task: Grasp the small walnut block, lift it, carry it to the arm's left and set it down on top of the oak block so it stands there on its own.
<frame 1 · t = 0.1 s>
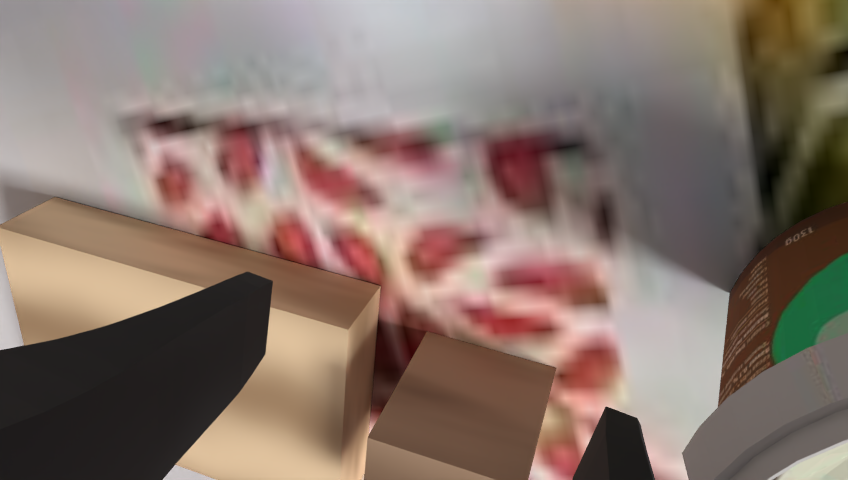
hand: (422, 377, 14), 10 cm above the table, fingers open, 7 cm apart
walnut block: (481, 398, 27), on the table
oak block: (214, 337, 30), on the table
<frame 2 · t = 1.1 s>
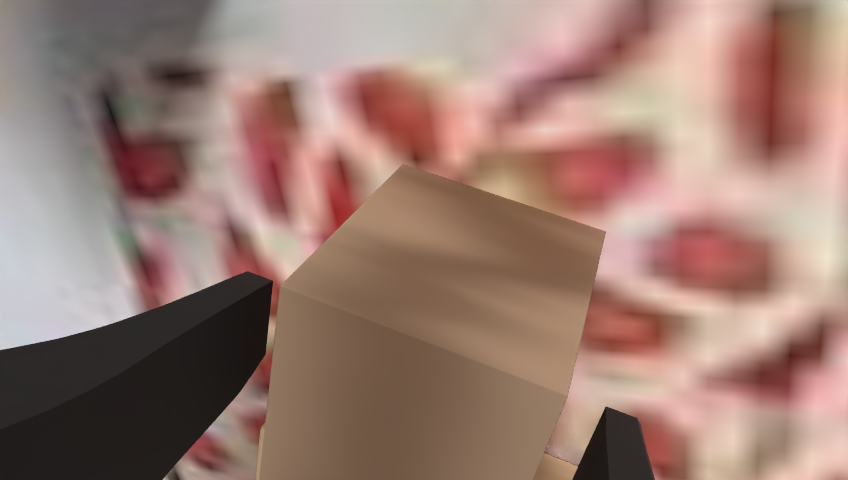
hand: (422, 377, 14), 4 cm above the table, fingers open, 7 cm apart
walnut block: (477, 282, 17), on the table
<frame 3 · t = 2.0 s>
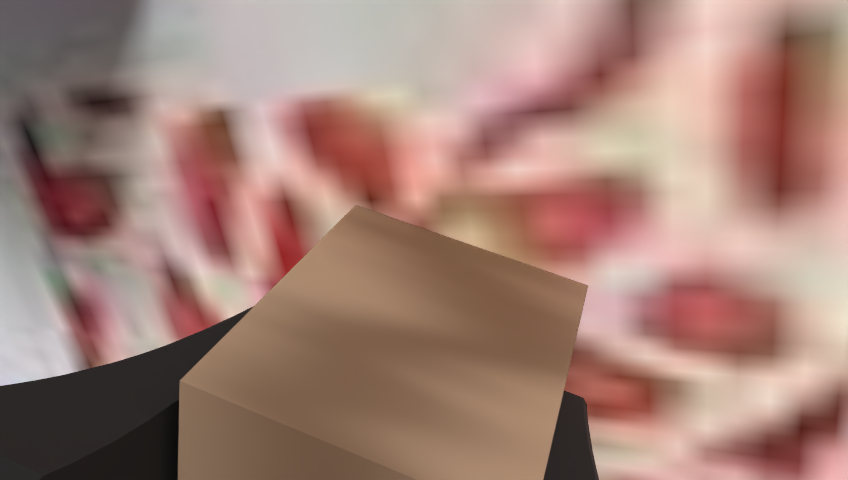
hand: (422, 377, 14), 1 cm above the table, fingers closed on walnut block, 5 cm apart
walnut block: (442, 338, 15), on the table, touching gripper
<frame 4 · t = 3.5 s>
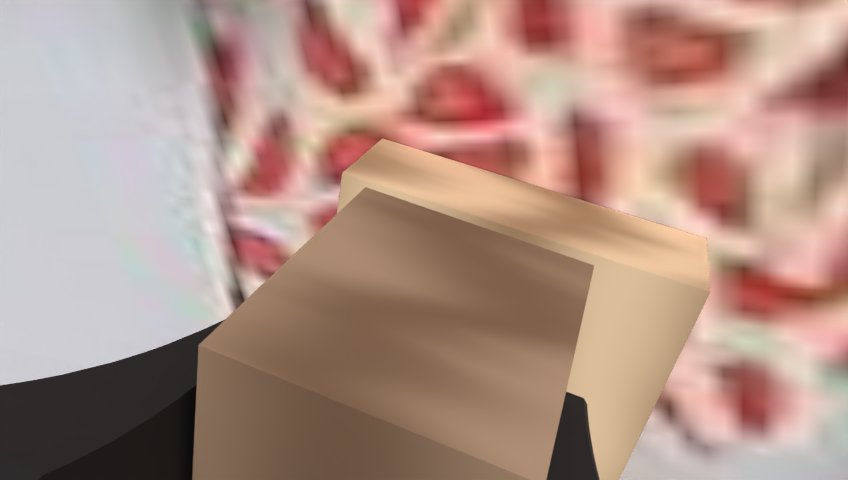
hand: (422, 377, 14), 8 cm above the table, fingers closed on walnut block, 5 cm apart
walnut block: (449, 320, 15), point 7 cm above the table, touching gripper
oak block: (481, 373, 24), on the table
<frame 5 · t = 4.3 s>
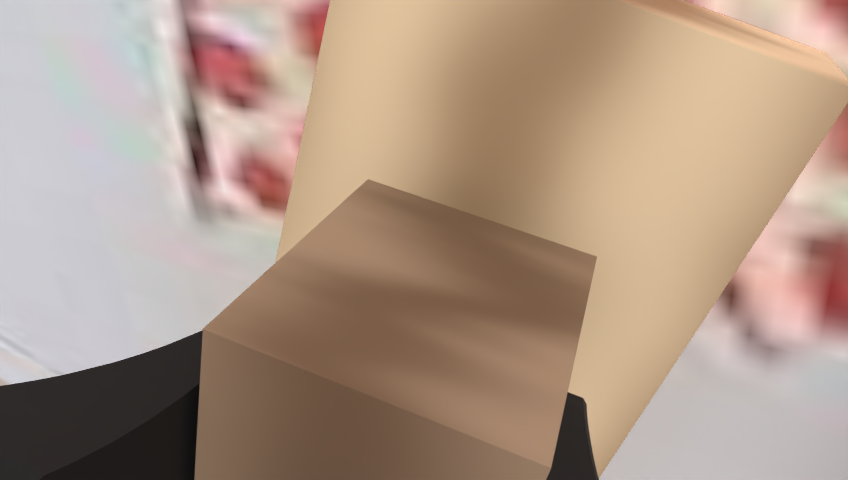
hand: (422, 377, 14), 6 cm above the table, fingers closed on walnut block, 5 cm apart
walnut block: (451, 313, 15), point 4 cm above the table, touching gripper
oak block: (494, 241, 19), on the table
when the fingers open (5 cm above the table, at t = 5.0 s): walnut block stays where it is, resting on oak block.
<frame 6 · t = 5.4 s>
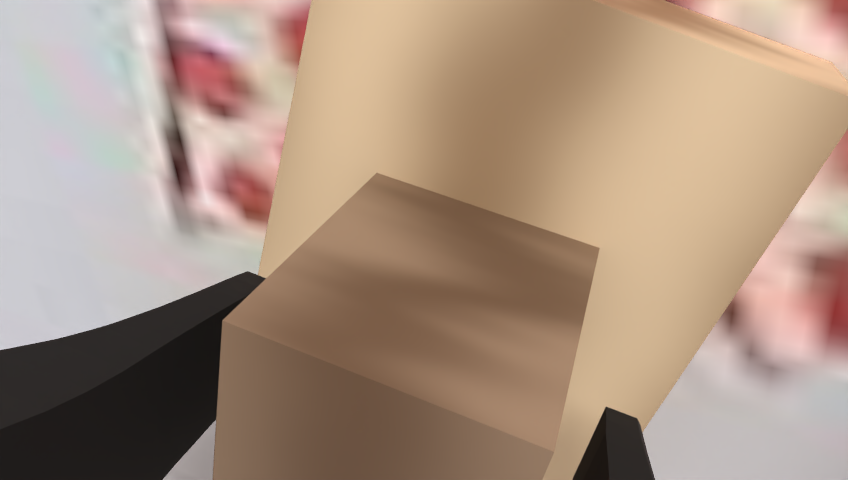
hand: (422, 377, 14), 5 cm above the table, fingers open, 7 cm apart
walnut block: (458, 302, 16), point 3 cm above the table, touching oak block
oak block: (485, 256, 19), on the table
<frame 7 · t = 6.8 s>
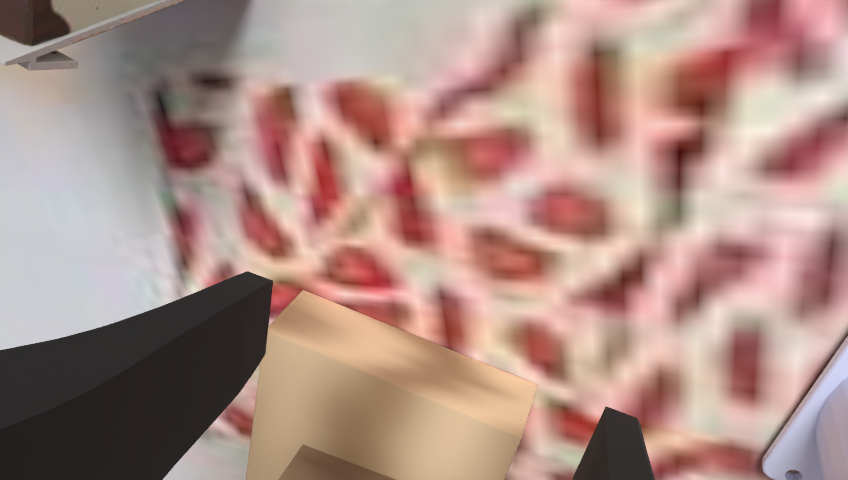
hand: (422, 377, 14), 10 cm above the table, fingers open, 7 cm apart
oak block: (381, 463, 31), on the table
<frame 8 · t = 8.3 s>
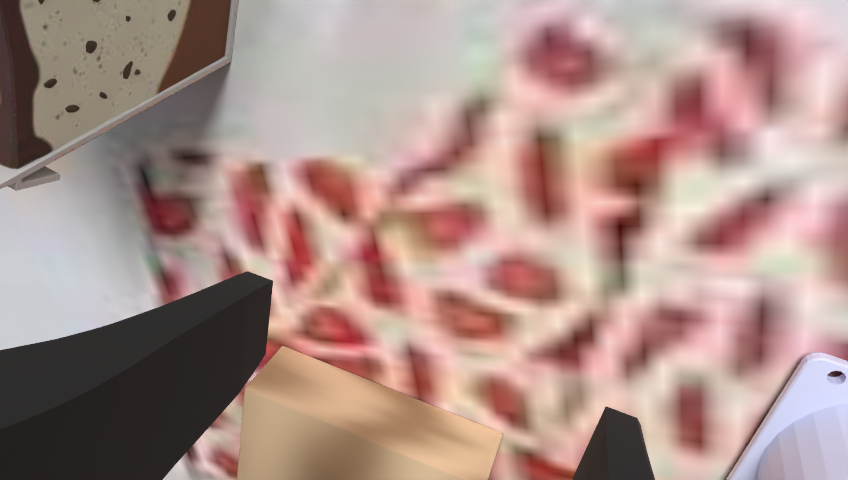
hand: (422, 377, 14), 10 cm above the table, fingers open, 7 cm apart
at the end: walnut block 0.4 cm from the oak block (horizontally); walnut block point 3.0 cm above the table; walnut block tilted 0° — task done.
